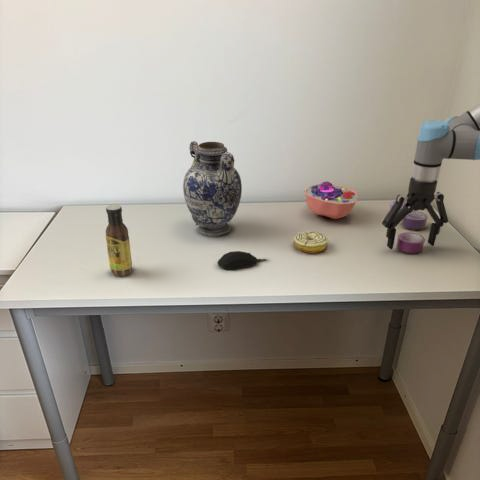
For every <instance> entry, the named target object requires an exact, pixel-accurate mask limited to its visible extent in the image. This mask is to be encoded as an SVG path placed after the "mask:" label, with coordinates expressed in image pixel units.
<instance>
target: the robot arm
mask: <svg viewBox="0 0 480 480" xmlns="http://www.w3.org/2000/svg"><path fill="white" fill-rule="evenodd" d="M419 128H420V129H419V133H418V135H417V136H418V137H417V142H416V147H415V152H414V159H413V164H412V169H411V174H410V176H411V178H409V183H408V190H407V191H408V192H407V195H402V194H397V195H396V198H395V200H394V201H395V203H394V205H393V206H392V208H391V209H390V208H389V210H390V211H389V210H388V212H387V214H386V215H385V217H384V219H383V221H382V222H381V225H382V226H383V227H384V228H385V229H386V234H385V235H386V238H387V242H386V247H387V248H388V249H389V250H393V249H394V244H395V239H396V234H397V228H396V227H397V226H398V225H399V224H401V222H402V220H403V219H404V218H405V217H406V216H407V214H408V213H411V212H412V211H425V210H426V211H427V212H428V214H429V215H430V217H431V218H432V220H433V222H431V223H430V224H431V225H430V228H429V233H428V238H427V243H428V244H429V245H430V246H432V247H434V246H435V243H436V238H437V235H439V234H440V231H441V227H443V226H444V224H447V223H448V222H449V218H448V214H447V210H446V206H445V203H444V199H445V195H444V194H443V193H442V192H440V191H437V192H436V190H437V185H438V179H439V177H440V172H441V167H442V164H443V159H446V160H469V161H478V160H479V161H480V102H478V103H476V104H475V105H474V106H473V107H471V108H470V109H468V110H466V111H465V112H463V113H462V114H461V115H457V116H456V115H454V116H451V117H448V118H447V119H446V120H445V121H443V120H436V119H434V120H432V119H431V120H426V121H424V122H422V124H421V126H420V127H419ZM405 201H407V203H406V204H405V205H404V206H403V208H402V209H401V207H402V205H403V204H404V203H405ZM433 201H435V204H436V207H437V211H438V214H437V211H435V209H434V207H433V206H432V203H433ZM408 207H410V208H408ZM400 209H401V210H400ZM399 210H400V211H399Z"/></svg>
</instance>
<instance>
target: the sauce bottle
mask: <svg viewBox="0 0 480 480" xmlns="http://www.w3.org/2000/svg"><path fill="white" fill-rule="evenodd" d="M105 211H106V214H107V223H108V224H107V226H106V228H105V241H106V248H107V256H108V263H109V268H110V272H111V274H112V275H114V276H117V277H124V276H128V275H130V274H131V273H132V272H133V259H132V251H131V243H130V236H129V229H128V227H127V226H126V224H125V223H124V219H123V215H122V212H123V208H122V205H120V204H117V203H113V204H108V205H107V206H106V207H105Z"/></svg>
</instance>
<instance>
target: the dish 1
mask: <svg viewBox="0 0 480 480" xmlns="http://www.w3.org/2000/svg"><path fill="white" fill-rule="evenodd" d="M395 201H396V200H393V201H390V205H389V210H388V212H389V211H390V209H391V208H392V206H393V205H394V203H395ZM406 203H407V201H405V203H404V204H403V205H402V207H401V209H402V208H403V206H404V205H405V204H406ZM408 208H410V207H408ZM401 209H400V210H401ZM400 210H399V211H400Z"/></svg>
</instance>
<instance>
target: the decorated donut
mask: <svg viewBox="0 0 480 480" xmlns="http://www.w3.org/2000/svg"><path fill="white" fill-rule="evenodd" d="M328 239H329V238H328V237H327V236H326V235H325V234H323V233H320V232H317V231H299V232H298V233H296V234H295V236H294V237H293V244H294V246H295V248H296V249H297V250H299V251H300V252H303V253H305V254H307V253H308V254H316V253H317V254H318V253H320V252H322V251H324V250H326V248H327V246H328V244H329V240H328Z"/></svg>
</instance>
